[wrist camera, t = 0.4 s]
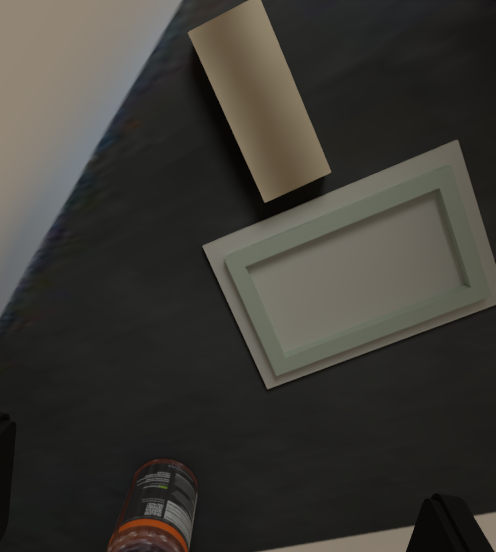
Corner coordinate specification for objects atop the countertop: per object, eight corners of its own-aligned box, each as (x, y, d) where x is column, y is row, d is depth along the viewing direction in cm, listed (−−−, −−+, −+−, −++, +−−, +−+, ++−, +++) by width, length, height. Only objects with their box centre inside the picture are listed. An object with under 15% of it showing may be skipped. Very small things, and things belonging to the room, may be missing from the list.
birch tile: (258, 8, 33) (258, -5, 30) (325, 170, 36) (331, 172, 33) (194, 42, 33) (187, 32, 31) (264, 198, 36) (264, 203, 33)
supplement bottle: (150, 520, 44) (114, 644, 33) (121, 467, 42) (73, 579, 31) (210, 499, 43) (194, 619, 32) (182, 445, 41) (155, 551, 31)
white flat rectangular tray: (455, 140, 34) (463, 139, 33) (503, 298, 37) (513, 304, 36) (203, 245, 37) (200, 249, 35) (267, 386, 40) (267, 395, 38)
